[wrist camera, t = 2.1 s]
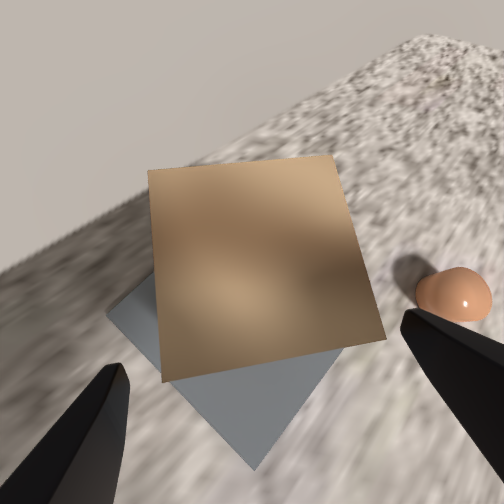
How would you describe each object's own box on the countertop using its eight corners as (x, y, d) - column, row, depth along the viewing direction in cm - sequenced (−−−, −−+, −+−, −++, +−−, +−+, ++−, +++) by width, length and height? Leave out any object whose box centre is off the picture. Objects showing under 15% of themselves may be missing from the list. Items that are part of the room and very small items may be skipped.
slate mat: (365, 315, 19) (368, 315, 19) (253, 467, 16) (254, 471, 16) (234, 200, 21) (234, 198, 21) (108, 315, 18) (105, 315, 17)
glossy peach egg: (468, 297, 21) (500, 291, 18) (446, 333, 20) (477, 332, 17) (430, 265, 21) (456, 256, 19) (406, 299, 20) (431, 294, 18)
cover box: (301, 337, 18) (386, 339, 9) (196, 357, 17) (162, 383, 8) (281, 240, 20) (332, 154, 11) (185, 253, 19) (147, 170, 10)
